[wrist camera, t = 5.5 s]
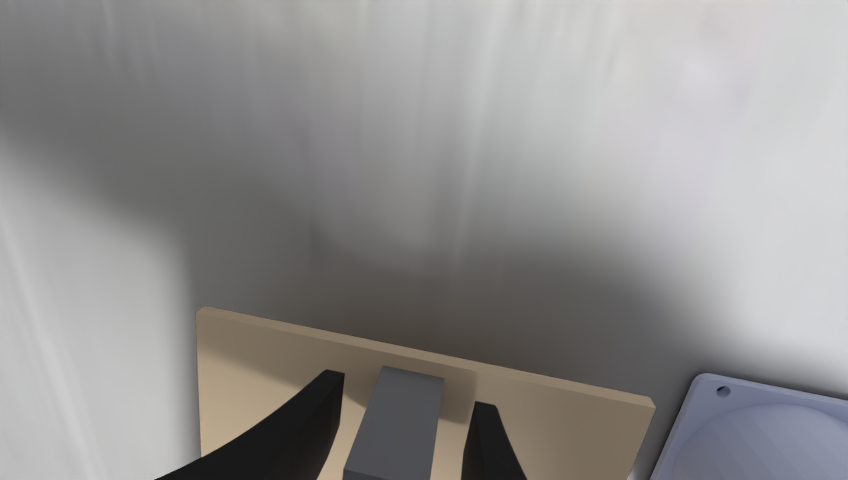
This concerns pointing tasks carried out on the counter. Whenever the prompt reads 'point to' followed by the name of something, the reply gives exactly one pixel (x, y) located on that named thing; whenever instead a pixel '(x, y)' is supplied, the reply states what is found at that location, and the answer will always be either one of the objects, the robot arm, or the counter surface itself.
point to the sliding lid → (409, 403)
